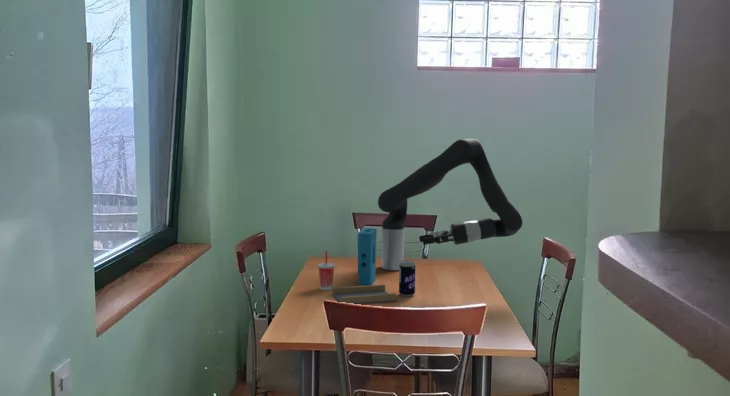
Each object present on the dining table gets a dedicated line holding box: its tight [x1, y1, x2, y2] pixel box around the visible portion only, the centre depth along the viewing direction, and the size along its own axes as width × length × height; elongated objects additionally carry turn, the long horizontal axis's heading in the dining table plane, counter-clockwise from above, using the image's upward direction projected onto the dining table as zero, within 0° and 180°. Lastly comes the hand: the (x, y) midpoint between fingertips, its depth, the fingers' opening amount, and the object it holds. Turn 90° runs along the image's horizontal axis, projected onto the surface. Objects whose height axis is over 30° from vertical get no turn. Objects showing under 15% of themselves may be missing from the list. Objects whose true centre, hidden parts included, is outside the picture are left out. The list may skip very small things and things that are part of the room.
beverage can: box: [398, 259, 416, 298], centre depth 216 cm, size 6×6×12 cm
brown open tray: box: [332, 284, 397, 305], centre depth 211 cm, size 13×19×3 cm
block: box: [357, 227, 377, 286], centre depth 232 cm, size 12×5×20 cm, turn 168°
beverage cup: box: [317, 250, 335, 291], centre depth 223 cm, size 6×6×14 cm
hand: (421, 240), depth 216 cm, fingers open, 8 cm apart
